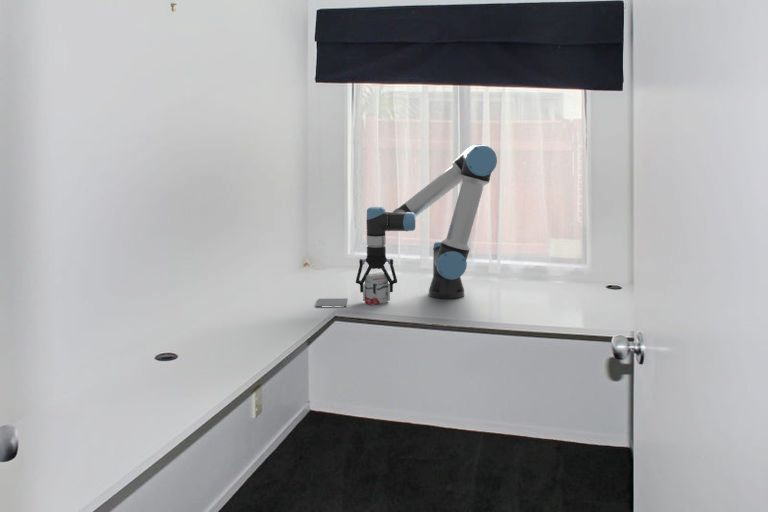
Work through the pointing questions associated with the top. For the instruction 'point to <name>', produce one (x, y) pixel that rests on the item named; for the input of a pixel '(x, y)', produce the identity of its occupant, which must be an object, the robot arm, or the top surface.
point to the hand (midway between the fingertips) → (376, 300)
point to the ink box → (376, 288)
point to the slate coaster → (332, 302)
